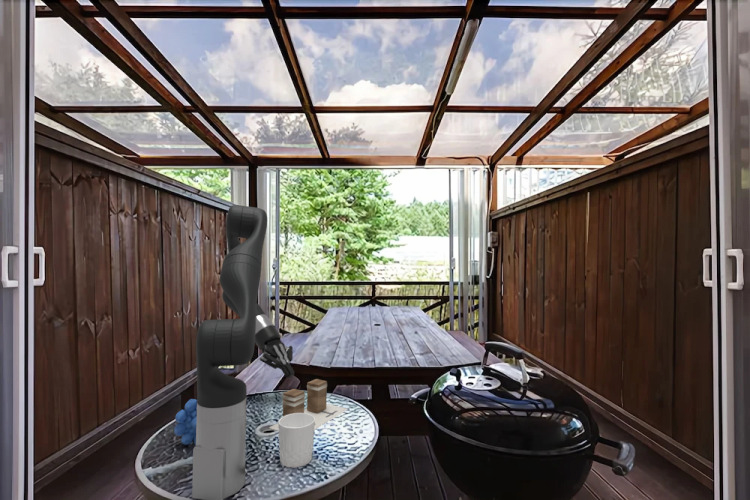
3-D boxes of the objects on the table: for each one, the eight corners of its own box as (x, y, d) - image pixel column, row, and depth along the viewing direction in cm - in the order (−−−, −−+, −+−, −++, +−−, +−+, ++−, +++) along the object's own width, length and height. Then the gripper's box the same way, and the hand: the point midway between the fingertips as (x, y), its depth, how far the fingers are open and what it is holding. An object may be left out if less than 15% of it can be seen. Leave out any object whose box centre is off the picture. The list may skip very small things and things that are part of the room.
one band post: (306, 410, 108) (306, 382, 108) (315, 405, 112) (316, 378, 112) (317, 413, 106) (318, 385, 106) (326, 408, 110) (327, 381, 110)
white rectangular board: (268, 433, 97) (268, 427, 97) (318, 406, 115) (319, 401, 115) (301, 444, 92) (301, 437, 92) (348, 414, 110) (348, 408, 110)
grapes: (228, 436, 96) (229, 389, 96) (219, 449, 89) (220, 398, 89) (181, 437, 95) (182, 390, 95) (169, 451, 88) (170, 399, 88)
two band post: (282, 423, 99) (282, 393, 100) (292, 417, 103) (293, 388, 103) (293, 426, 97) (294, 396, 98) (304, 420, 101) (304, 391, 101)
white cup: (318, 457, 86) (318, 413, 86) (308, 477, 78) (309, 428, 78) (284, 455, 87) (285, 411, 87) (272, 474, 79) (273, 426, 79)
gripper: (253, 327, 113) (282, 374, 107) (283, 321, 125) (312, 363, 119) (241, 343, 116) (269, 389, 109) (272, 335, 127) (299, 377, 121)
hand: (291, 376), depth 114 cm, fingers closed
